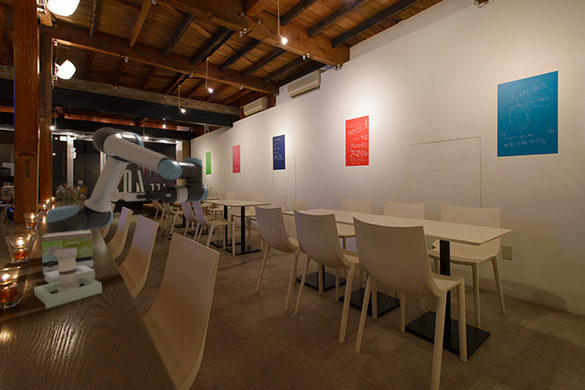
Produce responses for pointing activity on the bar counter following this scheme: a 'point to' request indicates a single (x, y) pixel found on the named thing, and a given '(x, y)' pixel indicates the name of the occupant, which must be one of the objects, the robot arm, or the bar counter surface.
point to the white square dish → (80, 271)
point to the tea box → (66, 240)
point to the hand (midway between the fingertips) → (117, 196)
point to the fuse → (67, 269)
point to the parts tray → (67, 292)
